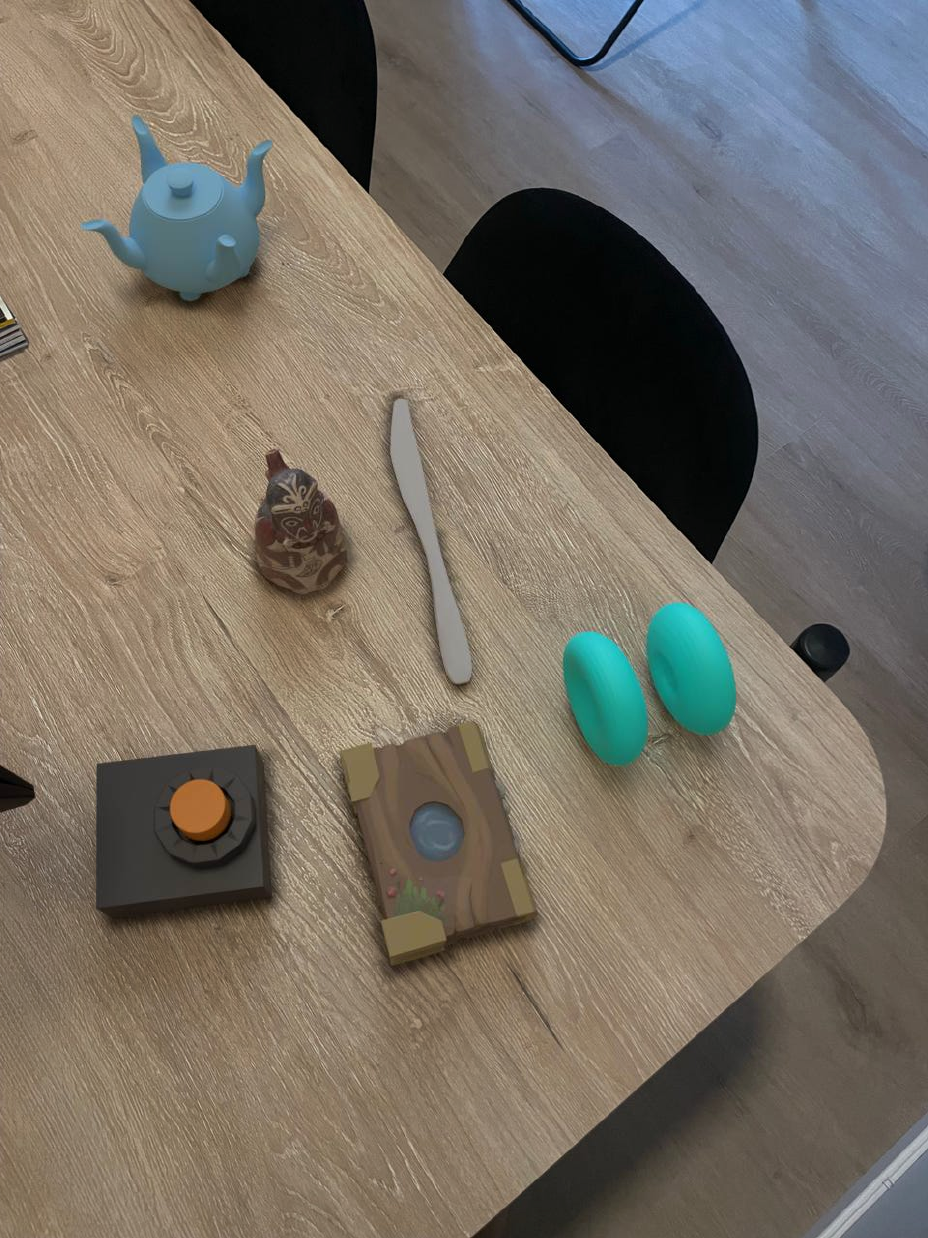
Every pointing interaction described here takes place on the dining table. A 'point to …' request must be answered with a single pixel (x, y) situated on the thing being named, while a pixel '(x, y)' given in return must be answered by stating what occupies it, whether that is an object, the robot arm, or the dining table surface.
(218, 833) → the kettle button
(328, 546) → the figurine
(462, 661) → the butter knife
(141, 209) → the teapot
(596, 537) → the dining table surface
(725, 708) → the donuts
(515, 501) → the dining table surface
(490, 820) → the book
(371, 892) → the dining table surface
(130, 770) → the black button base
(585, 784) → the dining table surface
